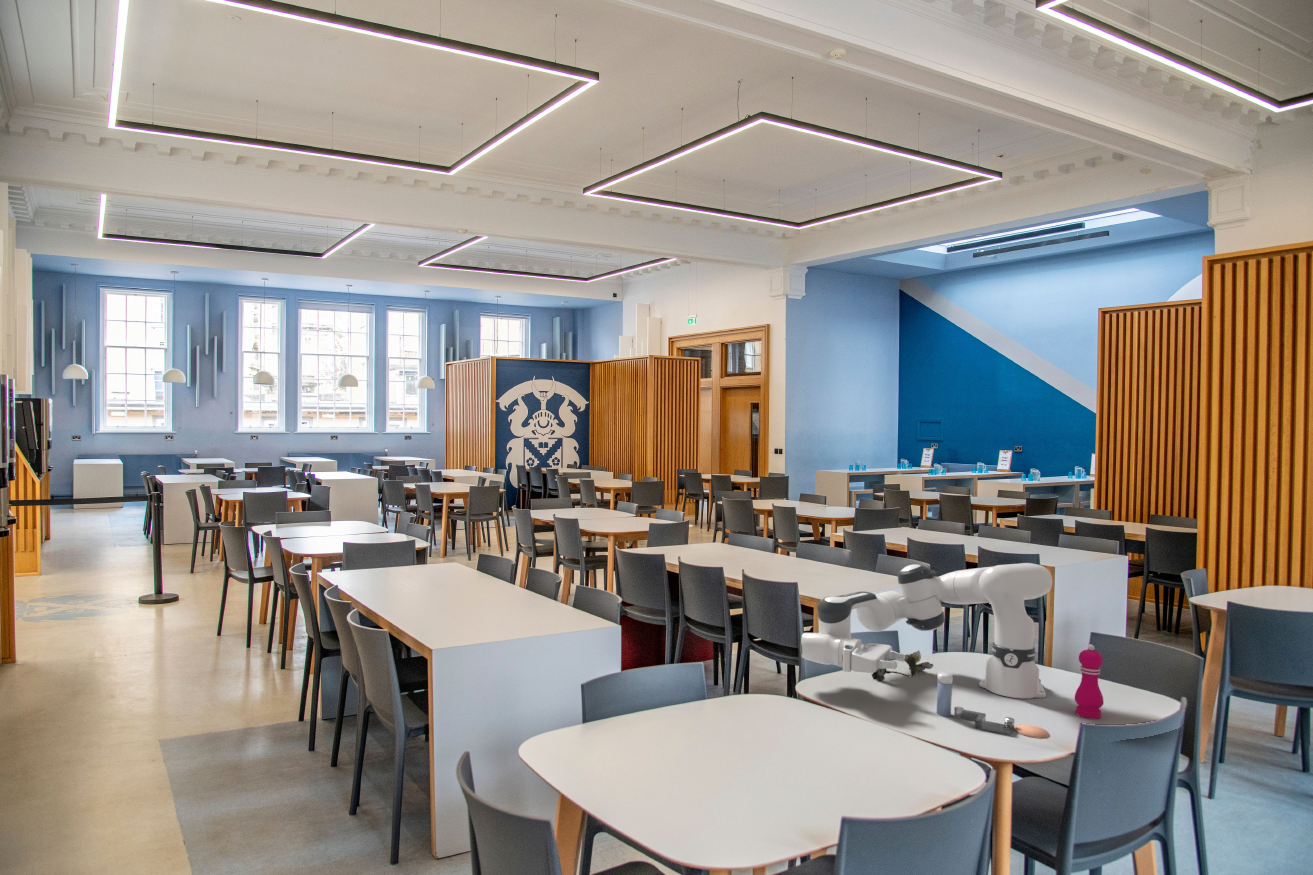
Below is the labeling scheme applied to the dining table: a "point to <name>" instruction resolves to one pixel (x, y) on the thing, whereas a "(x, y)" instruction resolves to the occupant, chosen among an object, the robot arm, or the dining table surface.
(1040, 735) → the coaster
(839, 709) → the dining table surface
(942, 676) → the shaker
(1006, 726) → the rail
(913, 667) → the artificial flower
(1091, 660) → the pepper mill
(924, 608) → the robot arm
